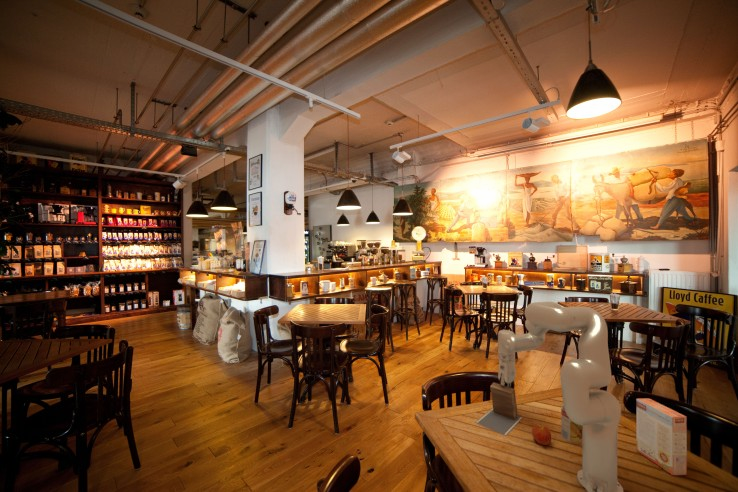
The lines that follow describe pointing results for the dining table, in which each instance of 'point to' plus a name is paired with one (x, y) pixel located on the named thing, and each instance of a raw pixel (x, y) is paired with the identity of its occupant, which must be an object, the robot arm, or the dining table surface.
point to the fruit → (541, 434)
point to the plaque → (504, 400)
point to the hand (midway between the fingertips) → (506, 394)
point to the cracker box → (662, 435)
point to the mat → (498, 422)
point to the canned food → (570, 429)
